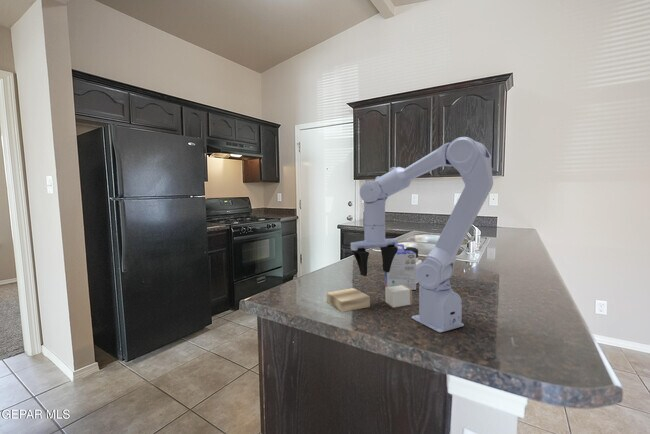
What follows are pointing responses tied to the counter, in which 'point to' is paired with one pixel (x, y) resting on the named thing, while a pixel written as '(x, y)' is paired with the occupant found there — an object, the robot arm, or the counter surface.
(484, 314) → the counter surface
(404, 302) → the off-white cardboard box
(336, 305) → the maple block
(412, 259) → the ink cartridge box
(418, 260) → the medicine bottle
